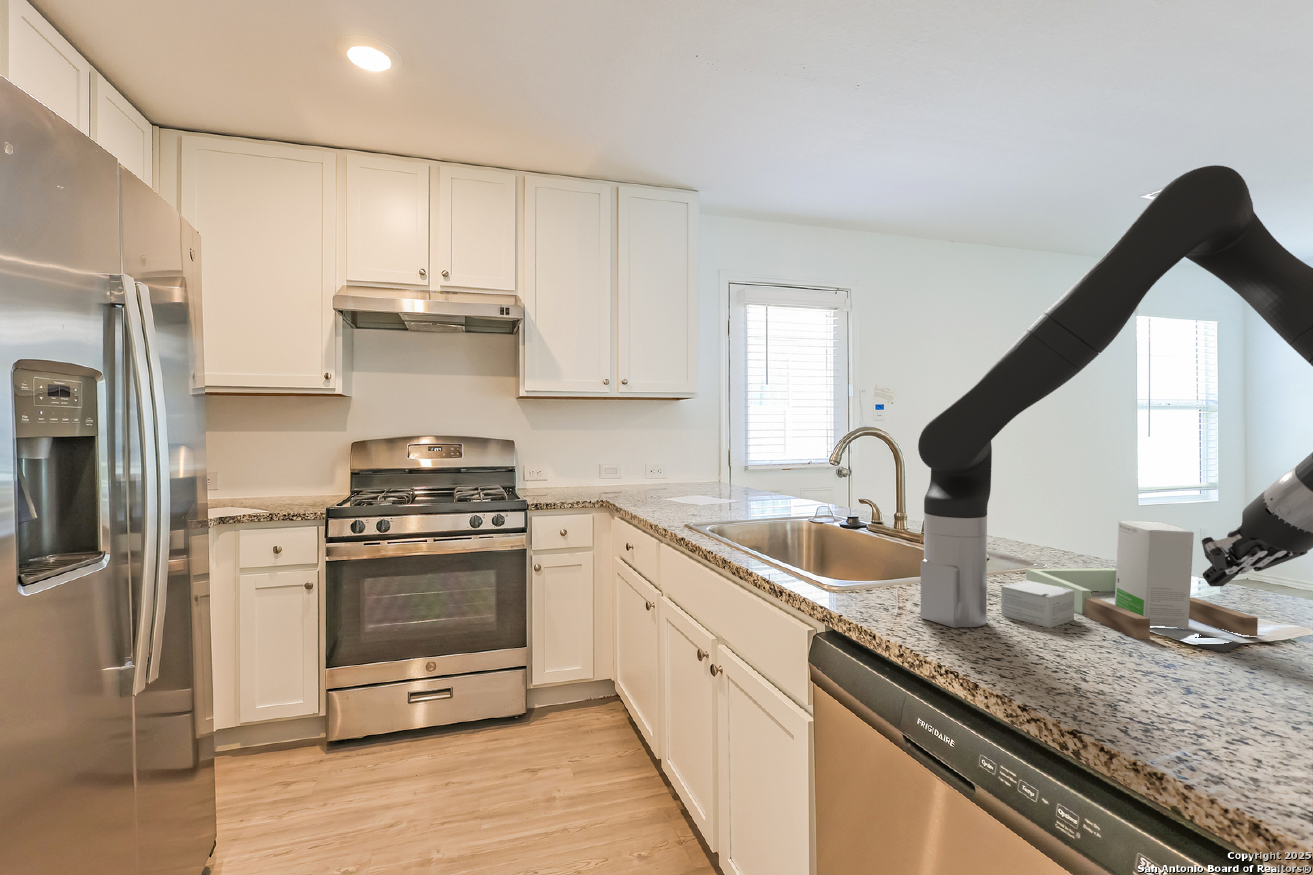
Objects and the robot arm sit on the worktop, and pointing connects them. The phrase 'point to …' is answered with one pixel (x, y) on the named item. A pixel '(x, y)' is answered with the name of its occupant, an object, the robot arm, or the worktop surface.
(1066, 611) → the small box
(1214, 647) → the pit mat
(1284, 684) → the worktop surface
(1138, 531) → the skincare box
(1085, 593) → the corral
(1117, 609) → the channel
